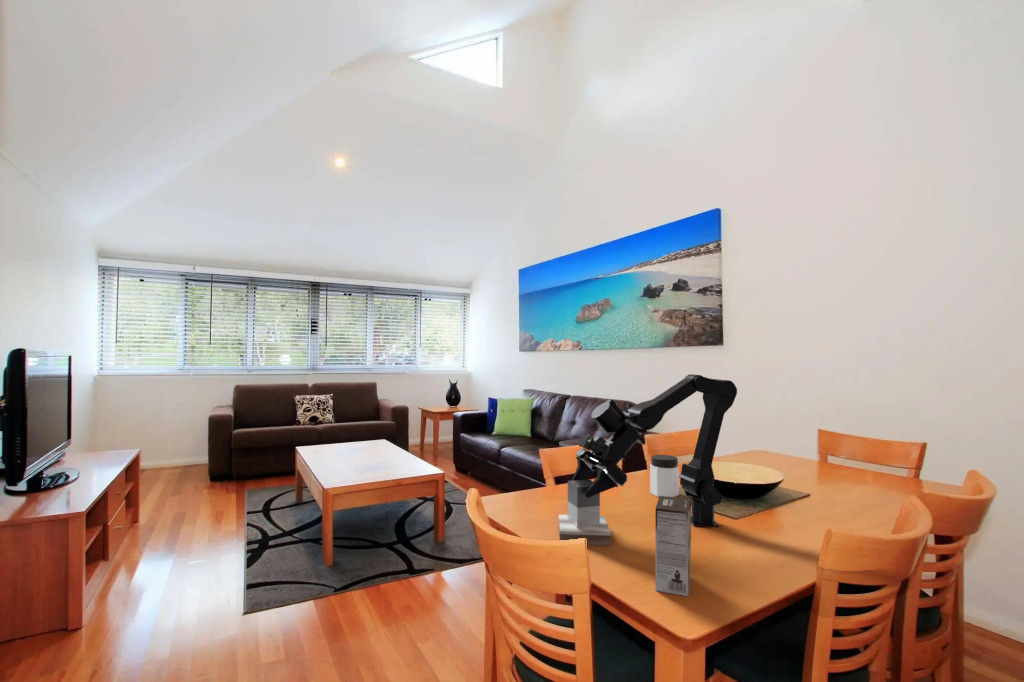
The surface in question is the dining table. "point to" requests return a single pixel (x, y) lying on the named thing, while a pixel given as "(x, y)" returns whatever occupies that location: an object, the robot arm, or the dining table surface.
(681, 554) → the coffee box
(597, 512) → the block
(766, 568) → the dining table surface
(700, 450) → the robot arm
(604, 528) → the stand
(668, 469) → the jar
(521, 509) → the dining table surface
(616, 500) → the dining table surface
